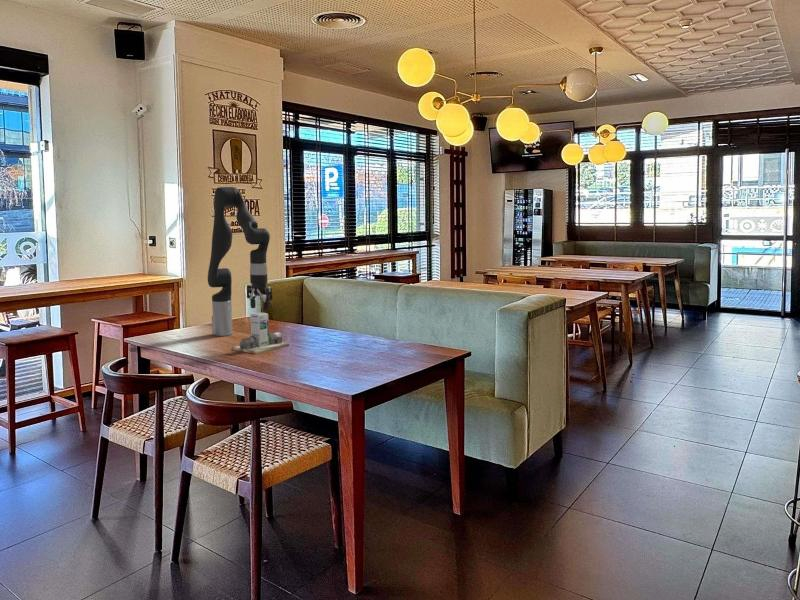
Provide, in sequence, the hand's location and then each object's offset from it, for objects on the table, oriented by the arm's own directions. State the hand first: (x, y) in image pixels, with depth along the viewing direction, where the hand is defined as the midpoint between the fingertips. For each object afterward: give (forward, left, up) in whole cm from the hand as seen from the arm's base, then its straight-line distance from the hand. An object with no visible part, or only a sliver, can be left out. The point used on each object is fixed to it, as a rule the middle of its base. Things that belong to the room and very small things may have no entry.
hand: (259, 309), depth 282 cm
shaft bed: (0, 0, -18) cm, 18 cm away
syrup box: (0, 0, -17) cm, 17 cm away
